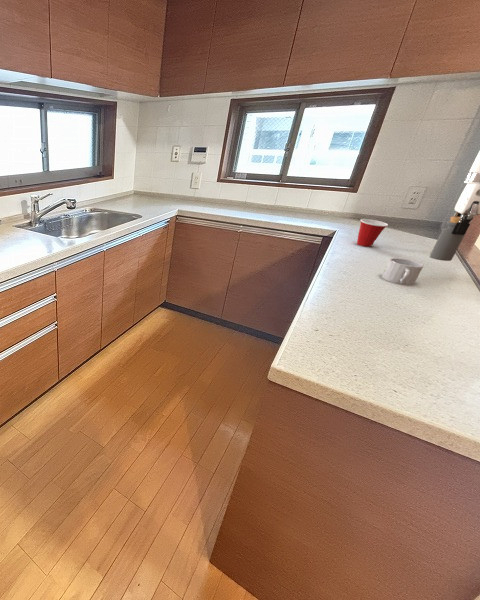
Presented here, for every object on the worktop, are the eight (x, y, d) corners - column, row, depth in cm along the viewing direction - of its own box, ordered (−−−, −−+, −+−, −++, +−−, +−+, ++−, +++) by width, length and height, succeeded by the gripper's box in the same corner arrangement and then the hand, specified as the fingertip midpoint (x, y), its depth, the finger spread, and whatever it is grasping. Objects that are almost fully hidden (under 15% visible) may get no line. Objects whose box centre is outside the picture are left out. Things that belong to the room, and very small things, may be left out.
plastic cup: (370, 249, 156) (381, 224, 151) (346, 243, 165) (355, 219, 159) (382, 247, 160) (394, 222, 155) (358, 241, 169) (368, 218, 163)
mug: (380, 273, 127) (388, 256, 124) (411, 279, 122) (420, 261, 119) (384, 283, 118) (392, 265, 115) (418, 290, 113) (428, 271, 110)
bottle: (452, 262, 116) (474, 220, 110) (429, 258, 120) (449, 217, 113) (450, 258, 120) (472, 217, 114) (428, 255, 124) (448, 215, 117)
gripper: (509, 181, 99) (478, 239, 107) (490, 177, 112) (462, 229, 120) (474, 180, 103) (446, 235, 111) (459, 176, 116) (434, 226, 124)
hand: (455, 232), depth 115 cm, fingers closed on bottle, 5 cm apart
